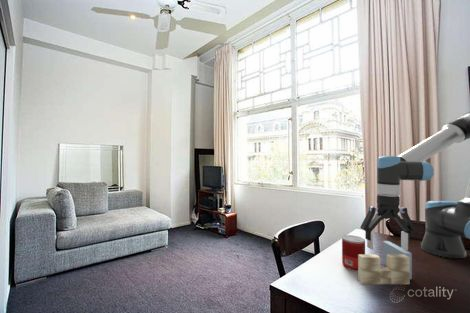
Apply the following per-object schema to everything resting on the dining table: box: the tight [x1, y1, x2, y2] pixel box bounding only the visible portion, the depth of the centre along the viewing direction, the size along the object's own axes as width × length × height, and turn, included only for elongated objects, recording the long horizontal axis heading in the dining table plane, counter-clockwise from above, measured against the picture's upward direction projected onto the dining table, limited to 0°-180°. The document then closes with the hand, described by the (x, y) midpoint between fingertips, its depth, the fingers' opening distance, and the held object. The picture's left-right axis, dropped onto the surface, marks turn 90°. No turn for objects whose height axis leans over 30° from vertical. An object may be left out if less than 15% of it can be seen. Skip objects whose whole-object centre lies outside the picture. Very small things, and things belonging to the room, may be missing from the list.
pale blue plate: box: [382, 240, 413, 280], centre depth 86 cm, size 12×2×9 cm, turn 0°
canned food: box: [341, 234, 366, 272], centre depth 89 cm, size 8×8×11 cm
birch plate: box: [357, 253, 411, 285], centre depth 78 cm, size 16×2×9 cm, turn 90°
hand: (387, 248), depth 90 cm, fingers open, 13 cm apart
